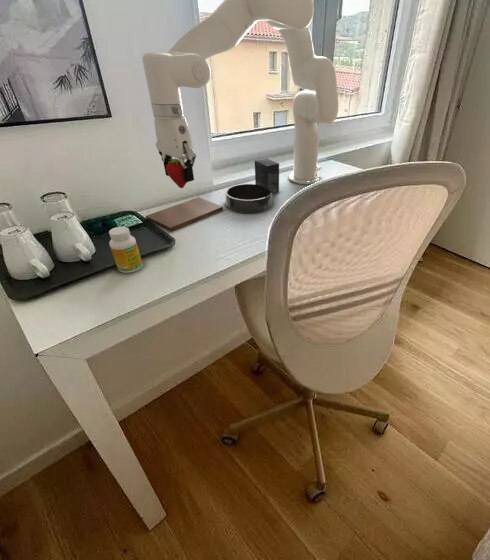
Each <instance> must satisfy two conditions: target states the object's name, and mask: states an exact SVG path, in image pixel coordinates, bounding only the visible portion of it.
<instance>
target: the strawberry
mask: <svg viewBox="0 0 490 560" xmlns="http://www.w3.org/2000/svg"><path fill="white" fill-rule="evenodd" d="M169 160H172V161H169V162H170V163H168V164H167V166H166V171H167V173H168V175H169V176H168V177H169V178H170V180H171V181H172V182H173V183H174V184H175V185H176V186H177V188H179V189H184V188H185V186H186V185H187V183H186V182H184V180H183V174H182V168H183V166H182V164H181V162H180V160H179V159H178V158H172V159H169ZM184 161H185V162H186V161H187V160H186V159H184Z"/></svg>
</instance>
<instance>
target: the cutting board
mask: <svg viewBox="0 0 490 560" xmlns="http://www.w3.org/2000/svg"><path fill="white" fill-rule="evenodd" d="M221 211H224V206H222V205H220V204H218V203H215V202H212V201H211V200H208V199H204V198H203V197H200V196H198V197H195V198H193V199H190V200H187V201H183V202H181V203H178V204H175V205H172V206H170V207H166V208H163V209H161V210H158V211H155V212H151V213H149V214H146V215H145V219H146V220H147V221H148V222H151V223H153V224H155V225H157V226H159V227H161V228H163V229H165V230H167V231H168V232H173V231H176V230H179V229H180V228H183V227H186V226H188V225H190V224H193V223H195V222H198V221H200V220H203V219H205V218H207V217H210V216H212V215H215V214H217V213H219V212H221Z"/></svg>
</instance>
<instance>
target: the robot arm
mask: <svg viewBox="0 0 490 560" xmlns="http://www.w3.org/2000/svg"><path fill="white" fill-rule="evenodd" d="M314 12H315V7H314V2H313V0H223V1H222V2H221V3H220V4H219V6H218V7H216V9H214V11H213V12H212V13H211V14H210V15H209V16H208V17H205V18H204V19H202V21H200V22H199V23H198V24H196V25H195V26H194V27H193V28H190V29H189V30H188V31H187V32H185V33H184V34H183V35H182V36H181V37H180V38H179V39H178V40H177V41H176V43H174V44H173V46H172V47H171V48H170V49H169V50H168V51H167V52H145V53H144V54H143V55H142V65H143V70H144V75H145V80H146V84H147V90H148V94H149V99H150V105H151V109H152V115H153V117H154V119H153V120H154V121H153V122H154V130H155V135H156V136H155V137H156V142H155V147H156V149H157V151H158V154H159V155H160V157H161V158H160V159H161V162H163V168H164V173H165V176H167V177H169V175H168V173H167V171H166V166H167V164H168V163H170V162H169V161H172V160H169V159H173V158H174V159H177V158H178V160H180V162H181V164H182V166H183V168H182V174H183V180H184V182H186V184H187V183H190V182H192V181H194V180H195V177H194V176H195V175H194V169H193V167H194V164H195V161H196V158H197V154H196V152H195V151H194V145H193V141H192V136H191V132H190V131H191V130H190V127H189V124H188V121H187V118H186V117H185V114H184V107H183V102H182V101H183V99H182V93H181V88H182V87H183V88H191V89H200V88H201V89H202V88H204V87H205V86H207V85H208V84H209V82H210V80H211V77H212V70H211V67H210V63H208V61H207V60H208V59H209V58H211V57H213V56H217V55H220V54H222V53H225V52H228V51H230V50H232V49H234V48H235V47H236V46H237V45H238V44H239V43H240V42H241V41H242V39H243V38H244V37H245V36H246V35H247V33H248V32H249V31H250V30H251V29H252V28H253V27H254V26H255V24H256V23H258V22H260V21H265V22H266V23H267V24H268V25H269V26H270V27H271V28H272V29H274V30H276V32H278V34H279V35H280V36H281V38H282V39H283V42H284V44H285V48H286V52H287V53H286V54H287V59H288V64H289V71H290V76H291V80H292V84H293V85H294V86H295V87H297V88H299V89H302V90H301V91H298V93H297V94H296V95H294V98H293V100H292V113H293V115H292V116H293V123H294V125H293V126H294V133H293V134H294V139H293V166H292V167H293V168H292V172H291V173H290V174H289V176H288V179H289V180H290V182H292V183H295V184H300V185H313V184H316V183H315V182H317V181H318V182H320V180H321V179H320V178H321V177H320V175H318V172H319V171H322V168H323V167H322V166H321V165H318V158H319V157H318V155H319V145H320V143H319V142H320V128H319V125H325V126H327V125H331V124H333V123H334V121H335V120H336V119H337V116H338V113H339V94H338V93H339V92H338V80H337V72H336V67H335V65H334V63H333V61H332V60H331V59H330V58H328V57H326V56H319V55H316V54H315V50H314V44H313V37H312V32H311V30H310V27H309V26H310V24H311V23H312V21H313V18H314V14H315V13H314ZM318 124H319V125H318ZM184 159H185V160H184ZM185 161H186V162H185ZM317 177H320V178H317ZM316 178H317V179H316ZM318 179H319V180H318ZM316 180H317V181H316ZM307 181H310V182H307ZM318 182H317V183H318Z"/></svg>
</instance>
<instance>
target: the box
mask: <svg viewBox="0 0 490 560" xmlns="http://www.w3.org/2000/svg"><path fill="white" fill-rule="evenodd" d="M254 184H258V185H263V186H266V187H268V188H269V189H270V190H271V192H272V195H273V194H276V193H279V192H280V163H279V162H276V161H273V160H272V159H269V158H262V159H255V160H254Z"/></svg>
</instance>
